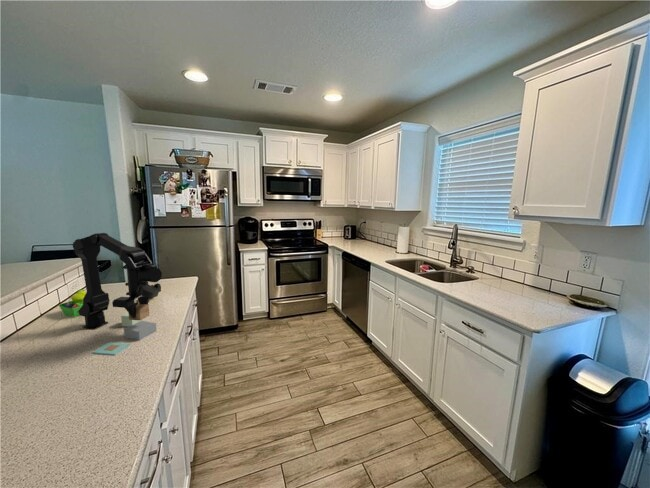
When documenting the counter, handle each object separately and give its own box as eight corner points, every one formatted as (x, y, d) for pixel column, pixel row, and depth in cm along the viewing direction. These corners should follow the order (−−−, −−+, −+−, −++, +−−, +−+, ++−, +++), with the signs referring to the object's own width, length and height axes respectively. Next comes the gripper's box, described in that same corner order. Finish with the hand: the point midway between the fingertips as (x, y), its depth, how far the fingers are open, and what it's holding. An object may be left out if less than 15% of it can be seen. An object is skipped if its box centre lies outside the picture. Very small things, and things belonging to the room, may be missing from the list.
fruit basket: (58, 314, 129) (55, 292, 127) (81, 308, 137) (78, 287, 135) (72, 319, 125) (69, 296, 123) (94, 312, 133) (92, 290, 131)
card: (92, 353, 99) (92, 351, 99) (109, 343, 106) (109, 341, 105) (115, 355, 98) (114, 353, 98) (130, 345, 105) (130, 343, 105)
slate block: (124, 337, 111) (123, 328, 110) (142, 329, 118) (141, 320, 118) (139, 340, 109) (138, 331, 108) (156, 331, 116) (156, 323, 116)
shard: (136, 306, 142) (136, 303, 142) (126, 304, 144) (126, 301, 144) (155, 300, 152) (154, 297, 152) (145, 297, 154) (145, 295, 154)
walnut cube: (129, 319, 110) (128, 308, 109) (138, 314, 115) (137, 303, 114) (140, 320, 110) (139, 309, 109) (149, 315, 114) (148, 304, 114)
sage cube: (122, 326, 120) (121, 315, 119) (131, 321, 125) (130, 311, 124) (132, 326, 120) (131, 316, 119) (141, 321, 124) (140, 311, 124)
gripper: (136, 288, 100) (140, 326, 102) (169, 274, 118) (171, 307, 121) (109, 286, 101) (113, 324, 103) (146, 273, 119) (148, 306, 121)
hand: (139, 315), depth 112 cm, fingers closed on walnut cube, 5 cm apart
